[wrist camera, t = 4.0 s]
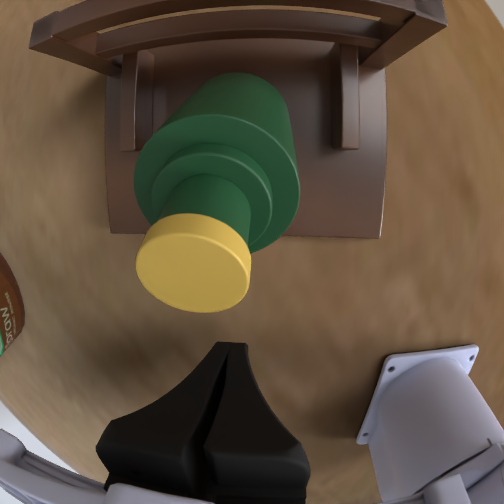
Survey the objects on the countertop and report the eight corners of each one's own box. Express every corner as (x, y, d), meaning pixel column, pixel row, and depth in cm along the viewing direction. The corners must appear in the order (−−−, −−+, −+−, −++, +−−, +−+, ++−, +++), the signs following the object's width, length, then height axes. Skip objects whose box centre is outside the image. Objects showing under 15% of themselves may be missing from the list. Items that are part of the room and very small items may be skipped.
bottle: (287, 166, 13) (297, 342, 7) (192, 166, 14) (125, 331, 7) (290, 72, 10) (326, 174, 4) (181, 76, 11) (51, 184, 4)
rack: (376, 235, 15) (442, 295, 8) (115, 230, 15) (34, 280, 9) (378, 32, 11) (439, -29, 4) (114, 39, 12) (36, -3, 5)
